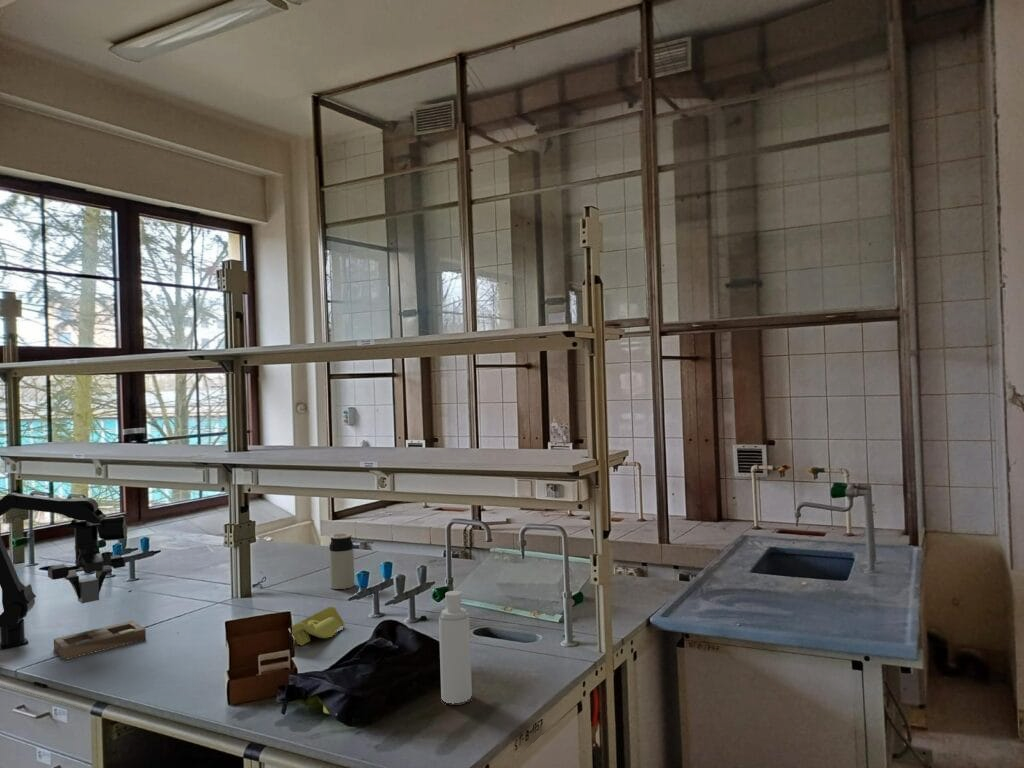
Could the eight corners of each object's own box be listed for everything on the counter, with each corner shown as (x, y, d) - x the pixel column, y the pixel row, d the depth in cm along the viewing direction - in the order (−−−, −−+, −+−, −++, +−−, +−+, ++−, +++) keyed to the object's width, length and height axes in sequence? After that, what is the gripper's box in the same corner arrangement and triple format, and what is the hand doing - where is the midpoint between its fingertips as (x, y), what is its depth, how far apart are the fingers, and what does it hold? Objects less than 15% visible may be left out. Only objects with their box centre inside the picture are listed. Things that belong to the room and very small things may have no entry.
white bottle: (464, 690, 165) (460, 579, 165) (477, 701, 159) (473, 586, 159) (436, 697, 162) (433, 584, 162) (448, 708, 156) (445, 591, 156)
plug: (77, 600, 211) (77, 579, 211) (94, 597, 214) (94, 576, 214) (82, 603, 208) (81, 582, 208) (99, 599, 211) (98, 579, 211)
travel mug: (333, 591, 248) (331, 538, 248) (328, 585, 256) (327, 534, 255) (356, 588, 252) (355, 535, 251) (351, 582, 259) (350, 531, 259)
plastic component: (307, 617, 214) (336, 603, 212) (317, 641, 213) (346, 627, 211) (273, 636, 194) (304, 620, 193) (284, 662, 193) (316, 646, 192)
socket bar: (54, 649, 200) (53, 637, 200) (133, 630, 214) (132, 619, 214) (64, 660, 192) (63, 647, 192) (145, 639, 206) (145, 627, 206)
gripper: (56, 552, 199) (58, 610, 199) (130, 540, 212) (132, 594, 212) (46, 546, 207) (48, 602, 207) (118, 535, 220) (120, 587, 220)
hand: (88, 596), depth 211 cm, fingers closed on plug, 4 cm apart
